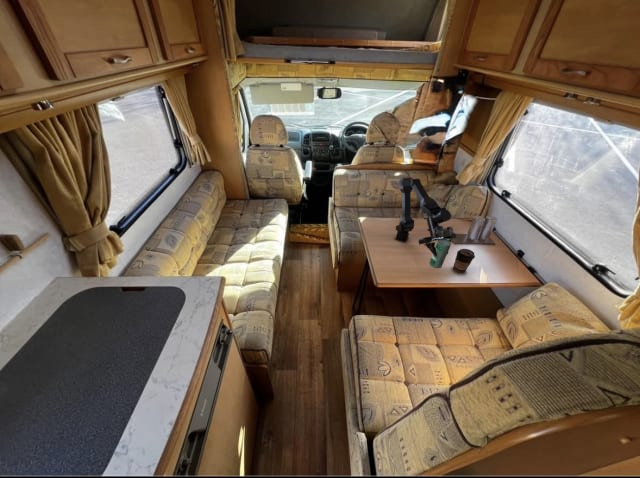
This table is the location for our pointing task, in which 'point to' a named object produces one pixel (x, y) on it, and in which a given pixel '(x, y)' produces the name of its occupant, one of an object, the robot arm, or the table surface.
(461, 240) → the dark grey flat slab
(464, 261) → the coffee cup
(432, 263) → the can
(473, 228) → the cans
